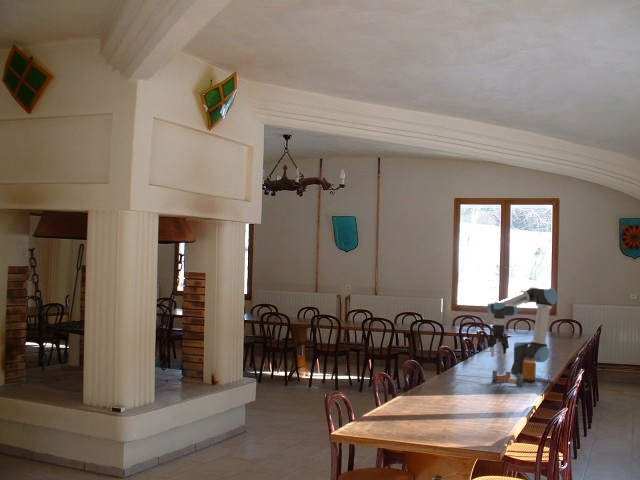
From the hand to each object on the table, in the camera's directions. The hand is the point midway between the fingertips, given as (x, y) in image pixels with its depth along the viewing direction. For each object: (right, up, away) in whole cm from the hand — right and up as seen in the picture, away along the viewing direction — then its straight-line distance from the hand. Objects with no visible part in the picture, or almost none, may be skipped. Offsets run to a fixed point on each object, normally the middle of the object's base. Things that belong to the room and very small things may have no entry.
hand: (497, 357), depth 482 cm
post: (-5, -15, -12) cm, 20 cm away
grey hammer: (+6, -15, -22) cm, 27 cm away
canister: (+19, -16, -3) cm, 25 cm away
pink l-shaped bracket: (+2, -15, -7) cm, 17 cm away
